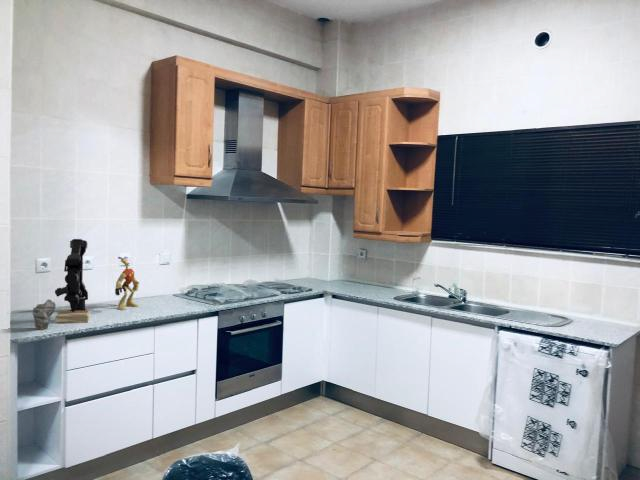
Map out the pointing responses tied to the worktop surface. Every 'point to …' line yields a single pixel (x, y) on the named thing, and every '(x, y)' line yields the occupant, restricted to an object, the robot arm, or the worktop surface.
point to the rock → (43, 314)
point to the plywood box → (72, 317)
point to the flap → (73, 312)
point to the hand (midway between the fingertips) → (73, 311)
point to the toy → (126, 286)
